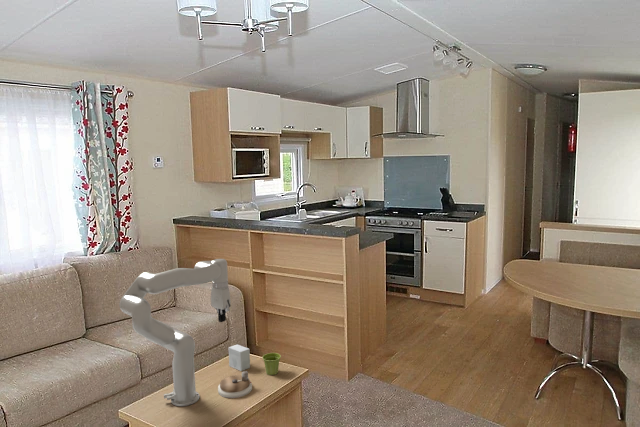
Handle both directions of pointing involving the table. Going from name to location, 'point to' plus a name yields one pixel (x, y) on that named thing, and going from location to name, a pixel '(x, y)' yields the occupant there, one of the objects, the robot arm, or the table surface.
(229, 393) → the stand
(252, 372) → the table surface
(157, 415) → the table surface
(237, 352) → the skincare box
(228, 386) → the dial
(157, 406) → the table surface
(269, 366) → the plant pot
